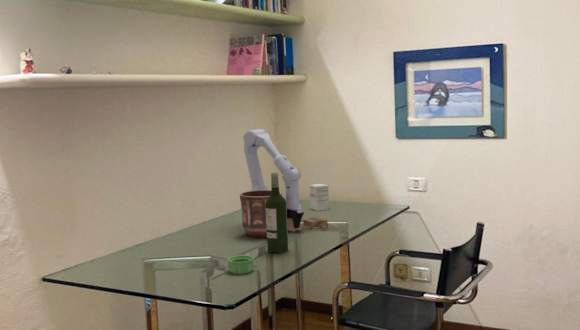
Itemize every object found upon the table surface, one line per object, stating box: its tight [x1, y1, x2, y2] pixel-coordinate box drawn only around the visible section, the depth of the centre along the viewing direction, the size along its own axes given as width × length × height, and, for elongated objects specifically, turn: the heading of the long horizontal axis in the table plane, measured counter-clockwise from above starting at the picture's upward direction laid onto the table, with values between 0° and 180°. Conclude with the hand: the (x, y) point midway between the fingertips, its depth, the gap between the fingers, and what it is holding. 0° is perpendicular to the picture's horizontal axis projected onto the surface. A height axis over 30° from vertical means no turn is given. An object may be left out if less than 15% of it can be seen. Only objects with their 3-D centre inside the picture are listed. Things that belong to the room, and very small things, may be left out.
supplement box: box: [309, 183, 330, 212], centre depth 315 cm, size 7×7×13 cm
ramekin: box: [227, 254, 255, 275], centre depth 210 cm, size 9×9×4 cm
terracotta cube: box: [287, 218, 302, 232], centre depth 270 cm, size 4×4×5 cm
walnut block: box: [302, 216, 329, 229], centre depth 275 cm, size 8×8×4 cm
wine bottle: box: [265, 172, 289, 254], centre depth 233 cm, size 8×8×30 cm
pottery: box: [239, 189, 283, 239], centre depth 262 cm, size 18×18×18 cm
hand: (293, 226), depth 270 cm, fingers open, 6 cm apart
